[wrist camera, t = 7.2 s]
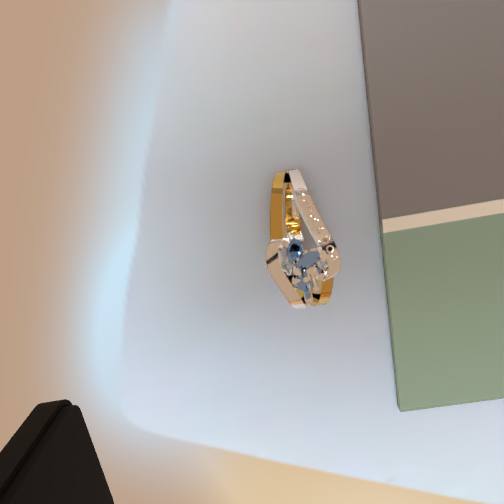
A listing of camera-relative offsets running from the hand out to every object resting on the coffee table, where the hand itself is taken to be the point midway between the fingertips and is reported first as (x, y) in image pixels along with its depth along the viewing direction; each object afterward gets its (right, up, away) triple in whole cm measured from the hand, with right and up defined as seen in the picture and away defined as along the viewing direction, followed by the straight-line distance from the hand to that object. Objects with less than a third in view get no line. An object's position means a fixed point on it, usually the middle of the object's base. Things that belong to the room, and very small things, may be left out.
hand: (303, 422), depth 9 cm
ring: (+1, +5, +17) cm, 18 cm away
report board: (+12, +6, +16) cm, 21 cm away
